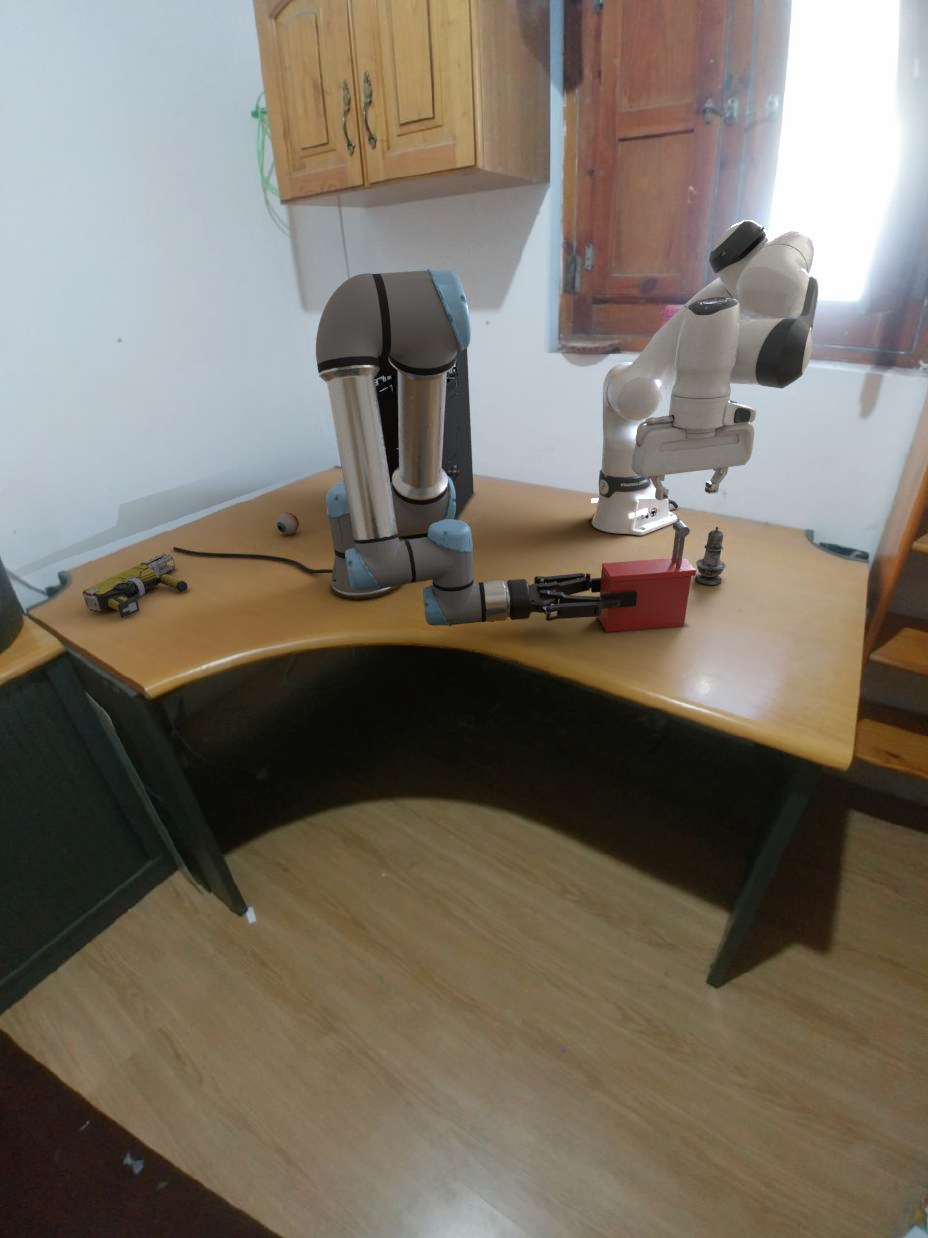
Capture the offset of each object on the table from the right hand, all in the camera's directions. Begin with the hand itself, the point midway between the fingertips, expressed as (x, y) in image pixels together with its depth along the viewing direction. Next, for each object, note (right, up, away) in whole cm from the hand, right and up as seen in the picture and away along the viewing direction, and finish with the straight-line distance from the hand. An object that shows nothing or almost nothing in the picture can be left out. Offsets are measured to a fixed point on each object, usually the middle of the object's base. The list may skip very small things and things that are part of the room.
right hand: (686, 495), depth 104 cm
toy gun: (-109, -15, +34) cm, 115 cm away
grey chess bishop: (+14, -13, +26) cm, 32 cm away
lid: (-4, -13, +7) cm, 15 cm away
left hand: (-7, -16, +9) cm, 20 cm away
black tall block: (-49, +9, +70) cm, 87 cm away
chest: (-4, -22, +12) cm, 25 cm away
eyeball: (-86, +2, +61) cm, 106 cm away
